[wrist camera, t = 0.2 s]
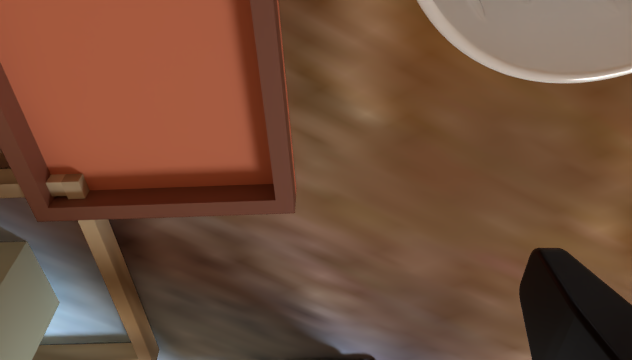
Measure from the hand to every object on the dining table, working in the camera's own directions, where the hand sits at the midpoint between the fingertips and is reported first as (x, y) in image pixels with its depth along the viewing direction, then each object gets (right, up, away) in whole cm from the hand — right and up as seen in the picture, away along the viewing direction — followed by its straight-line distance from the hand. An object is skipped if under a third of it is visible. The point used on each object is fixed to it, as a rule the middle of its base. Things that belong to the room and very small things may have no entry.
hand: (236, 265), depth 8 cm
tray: (-6, +7, +13) cm, 16 cm away
